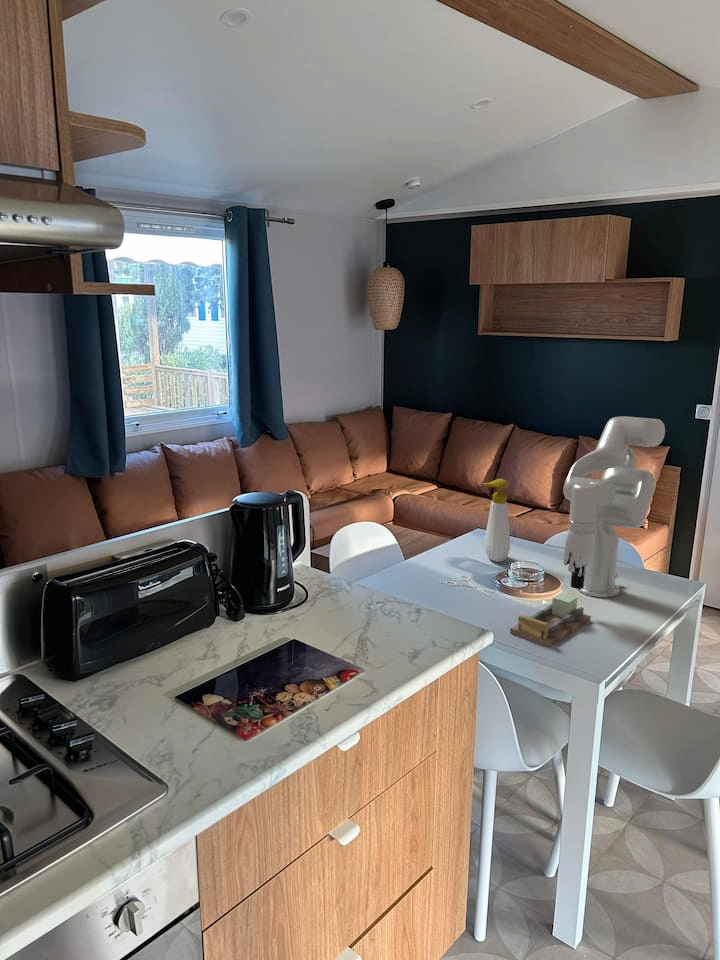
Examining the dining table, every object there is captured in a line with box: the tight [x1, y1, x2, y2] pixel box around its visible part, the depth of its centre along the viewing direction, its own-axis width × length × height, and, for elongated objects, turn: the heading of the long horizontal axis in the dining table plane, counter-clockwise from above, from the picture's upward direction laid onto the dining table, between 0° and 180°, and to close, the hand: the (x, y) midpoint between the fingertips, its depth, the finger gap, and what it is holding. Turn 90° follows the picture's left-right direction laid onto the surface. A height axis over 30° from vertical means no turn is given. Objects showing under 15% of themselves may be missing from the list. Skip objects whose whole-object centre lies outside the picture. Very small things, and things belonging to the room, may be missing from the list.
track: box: [509, 604, 592, 648], centre depth 205 cm, size 23×12×6 cm, turn 137°
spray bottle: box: [481, 478, 511, 563], centre depth 257 cm, size 13×10×29 cm
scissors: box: [438, 575, 502, 598], centre depth 235 cm, size 11×1×20 cm
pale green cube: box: [551, 592, 578, 618], centre depth 210 cm, size 5×5×5 cm
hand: (576, 587), depth 214 cm, fingers closed
